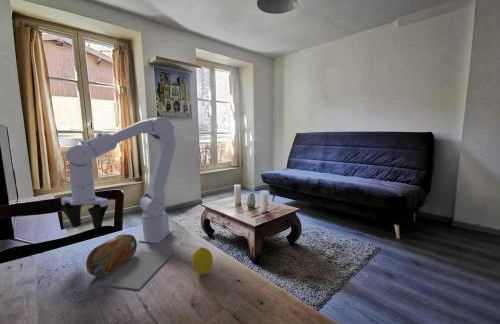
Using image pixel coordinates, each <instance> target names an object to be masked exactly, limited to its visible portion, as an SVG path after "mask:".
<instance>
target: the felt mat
mask: <svg viewBox="0 0 500 324" xmlns="http://www.w3.org/2000/svg"><path fill="white" fill-rule="evenodd" d="M172 256H173V253H168V252H167V253H166V252H158V251H147V250H140V251H139V252H138V253H136V254H134V256H133V257H132V258H131V260H129V261H128V262H127V263H125V264H124V265H122V266H120V267H119V268H117V269H116V270H115V271H114V273H112V274H111V275H109V277H108V278H106V279H105V280H104V281H102V282H101V283H100V286H103V287H108V288H109V287H111V288H118V289H124V290H125V289H126V290H131V291H132V290H133V291H140V290H141V289H142V288H143V287H144V286H145V284H147V283H148V282H149V281H150V279H151V278H152V277H153V276H154V275H155V274H156V273H158V271H159V270H160V269H161V268H162V266H164V265H165V263H167V261H168V260H169V259H170V258H171V257H172Z"/></svg>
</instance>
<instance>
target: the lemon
mask: <svg viewBox="0 0 500 324" xmlns="http://www.w3.org/2000/svg"><path fill="white" fill-rule="evenodd" d="M213 259H214V258H213V255H212V253H211V250H209V248H206V247H203V246H202V247H200V248H198V249H197V250H195V251H194V253H193V255H192V261H191V263H192V264H191V265H192V268H193V270H194V272H195V273H196V274H199V275H202V276H204V275H205V274H207V273H209V272H210V271H211V269H212V267H213V262H214V261H213Z"/></svg>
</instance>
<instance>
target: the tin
mask: <svg viewBox="0 0 500 324" xmlns="http://www.w3.org/2000/svg"><path fill="white" fill-rule="evenodd" d="M137 246H138V243H137V239H136V238H135V236H134V235H132V234H119V235H117V236H115V237H113V238H111V239H109V240H107V241H105V242H104V243H102V244H99V245H98V246H95V248H93V249H92V250H91V251H90V252H89V254H88V256H87V258H86V261H85V263H86V264H85V265H86V271H87V273H88V274H89V275H91V276H93V277H97V278H104V277H106V276H108V275H110V274H111V273H113V272H115V271H117V270H118V269H120V268H121V267H122V266H123V265H124V264H126V263H127V262H128V261H129V260H131V259H132V258H133V257H134V256H135V255H136V252H137Z"/></svg>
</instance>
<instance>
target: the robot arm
mask: <svg viewBox="0 0 500 324" xmlns="http://www.w3.org/2000/svg"><path fill="white" fill-rule="evenodd" d="M174 129H175V128H174V125H173V124H172V122H171V120H169V118H167V117H164V116H159V117H150V118H147V119H144V120H143V119H142V120H140V121H136V122H135V123H133V124H130V125H128V126H127V127H124V128H123V129H120V130H118V131H116V132H114V133H112V134H111V133H109V132H97V133H96V136H94V137H91V138H89V139H87V140H84V139H83V140H81V141H79V142H80V144H73V145H71V146H70V147H68V149H66V152H65V153H66V154H65V157H66V159H67V161H69V162H68V169H69V170H68V174H69V183H70V190H71V196H65V197H62V198H60V201H61V205H63V206H61V207H60V210H61V211H62V213H64V215H66V217H67V219H68V220H69V222H70V224H71V226H72V228H73V229H75V228H77V227H80V226H81V222H82V220H81V212H82V211H81V210H82V206H92V207H90V208H88V209H87V211H88V213H89V215H90V216H91V218H92V224H93V225H92V226H93V228H94V230H99V229H101V228H102V226H103V221H104V220H103V219H104V216H105V214H106V212H107V209H108V208H109V201H108V198H103V197H99V196H96V191H95V183H94V174H93V168H92V163H91V162H92V160H93V158H94V159H97V158H99V157H101V156H103V155H106V154H107V153H109V152H111V151H113V150H115V149H116V148H117V146H118V144H119V143H122V142H124V141H126V140H128V139H132V138H133V137H135V136H138V135H140V134H149V135H150V136H151V137H153V138H154V139H155V140H156V141H157V143H158V144H159V147H158V150H157V151H158V152H157V155H156V160H155V163H154V166H153V169H152V174H151V178H150V182H149V185H148V187H147V189H145V191H144V194H143V196H142V197H140V199H139V207H140V209H141V210H142V214H141V219H142V220H141V221H142V232H143V233H142V234H143V236H142V237H140V238H139V239H138V242H139V243H140V242H142V243H153V244H159V243H160V242H162V240H163V239H165V238H166V237H168V235H169V234H171V233H172V230H170V224H169V223H170V222H169V215H168V212H166V201H165V200H166V194H165V191H164V190H165V187H166V184H167V181H168V175H169V173H170V168H171V164H172V160H173V157H174V154H175V150H176V146H177V142H176V136H175V133H174Z"/></svg>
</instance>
